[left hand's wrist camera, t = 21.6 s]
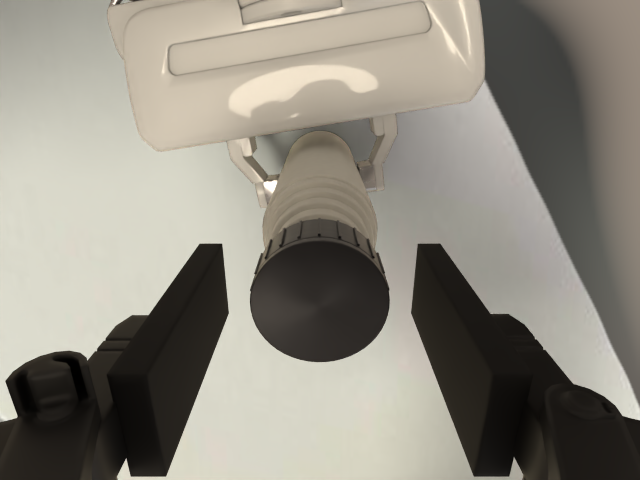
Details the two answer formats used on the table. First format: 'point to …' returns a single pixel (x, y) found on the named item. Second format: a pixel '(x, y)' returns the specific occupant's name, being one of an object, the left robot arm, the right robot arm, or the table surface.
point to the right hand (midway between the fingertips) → (322, 197)
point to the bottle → (320, 188)
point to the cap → (319, 291)
